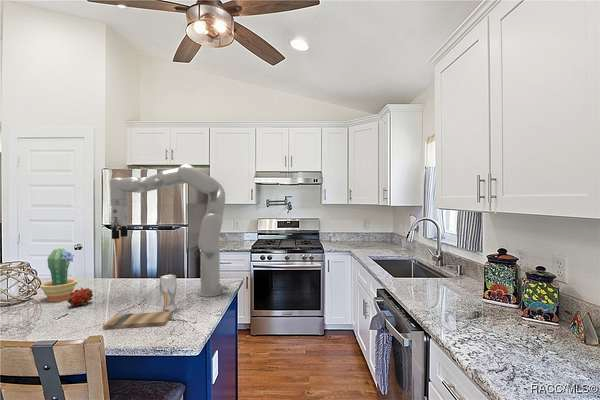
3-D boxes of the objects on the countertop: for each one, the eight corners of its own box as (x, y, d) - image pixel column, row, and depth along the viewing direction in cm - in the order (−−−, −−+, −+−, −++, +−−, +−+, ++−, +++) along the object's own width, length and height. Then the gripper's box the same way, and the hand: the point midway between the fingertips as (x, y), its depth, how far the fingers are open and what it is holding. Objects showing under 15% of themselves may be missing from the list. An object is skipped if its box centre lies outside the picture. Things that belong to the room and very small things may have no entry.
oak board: (172, 314, 138) (172, 311, 138) (164, 325, 126) (164, 321, 126) (116, 318, 135) (116, 314, 135) (103, 329, 123) (103, 325, 123)
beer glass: (179, 308, 147) (179, 274, 147) (172, 313, 140) (171, 278, 140) (164, 307, 147) (164, 274, 147) (156, 313, 140) (156, 278, 140)
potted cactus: (45, 305, 152) (44, 252, 152) (35, 299, 162) (34, 249, 161) (83, 297, 165) (82, 247, 164) (71, 292, 174) (71, 245, 174)
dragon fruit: (95, 304, 159) (71, 316, 147) (83, 293, 160) (58, 304, 149) (100, 291, 156) (76, 302, 145) (88, 280, 158) (63, 290, 146)
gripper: (119, 203, 152) (120, 239, 152) (133, 202, 170) (134, 235, 170) (102, 203, 151) (103, 240, 152) (118, 202, 169) (119, 236, 169)
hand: (119, 237), depth 161 cm, fingers open, 9 cm apart
